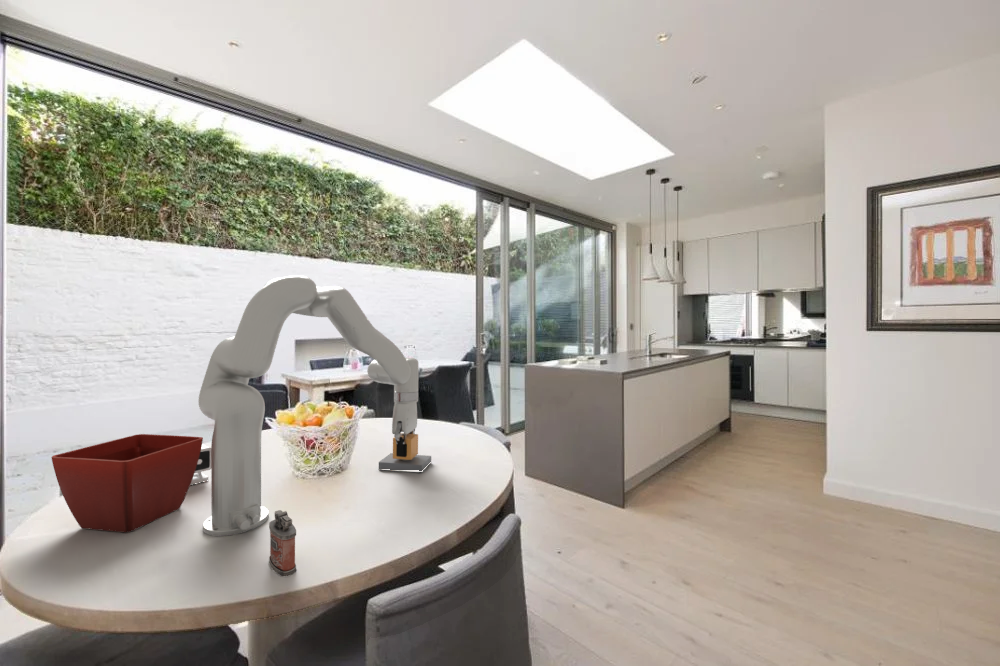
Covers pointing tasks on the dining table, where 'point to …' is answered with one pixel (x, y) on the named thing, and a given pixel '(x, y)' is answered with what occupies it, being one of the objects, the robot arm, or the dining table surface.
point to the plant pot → (127, 480)
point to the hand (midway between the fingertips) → (405, 452)
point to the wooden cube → (411, 446)
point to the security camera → (202, 465)
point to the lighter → (282, 544)
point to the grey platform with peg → (405, 463)
